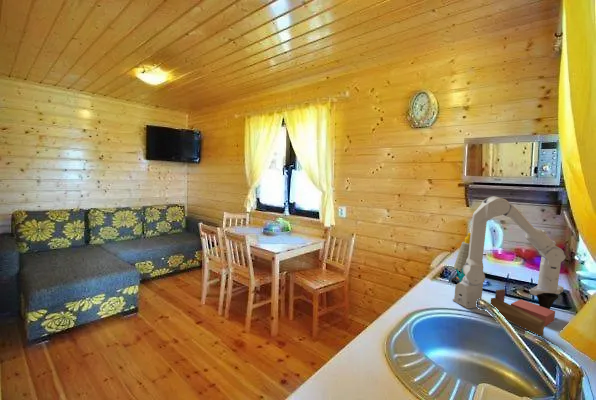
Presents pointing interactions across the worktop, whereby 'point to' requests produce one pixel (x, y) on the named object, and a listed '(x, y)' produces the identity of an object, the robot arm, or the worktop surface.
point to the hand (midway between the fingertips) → (544, 311)
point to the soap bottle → (463, 254)
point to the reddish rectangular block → (536, 311)
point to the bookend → (500, 294)
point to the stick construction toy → (459, 275)
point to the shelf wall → (519, 316)
